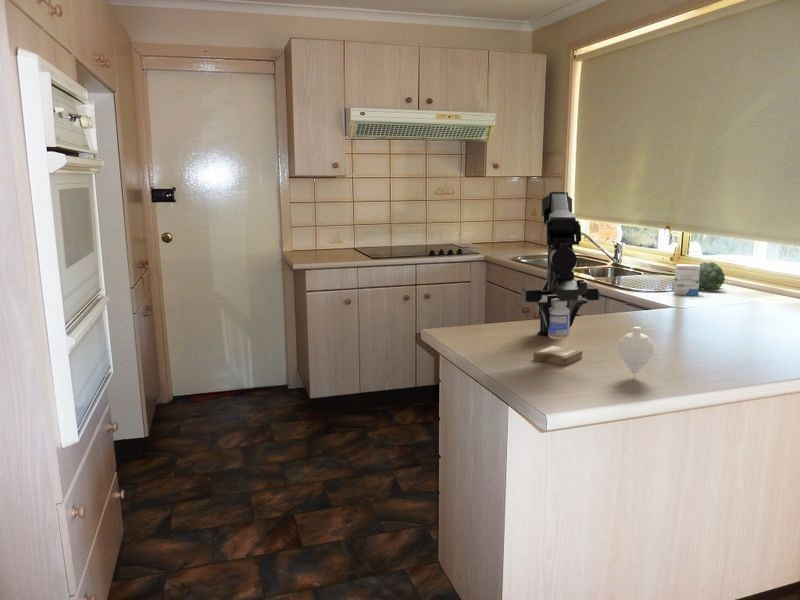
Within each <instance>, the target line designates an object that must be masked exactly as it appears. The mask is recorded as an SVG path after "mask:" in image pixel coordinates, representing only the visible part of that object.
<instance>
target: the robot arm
mask: <svg viewBox="0 0 800 600" xmlns="http://www.w3.org/2000/svg"><path fill="white" fill-rule="evenodd" d="M540 217H542V221H543V223H544V226H545V237H546V238H545V239H546V242H545V243H546V245H547V260H546V261H547V263H546V264H547V265H546V280H545V282H544V283H543V284H542V286H541V288H539V287H537V286H531V287H523V288H521V291H520V299H522V301H524V302H525V303H535V304H536V305H537V315H539V316H540V317H539V319H540V320H539V321H540V323H539V324H540V325H539V331H537V335H543V336H548V328H549V308H551V307H552V306H551V300H552V299H556V298H558V299H559V300H561V301H566V300H567V306H566V307H567V308H569V310H570V328H571V327H572V326H573V323H574V321H575V319H576V317H577V314H578V312H579V309H580V308H581V307H582V306H583V305H585V304H587V303H588V301H599V300H600V299H601V298H600V297H601V296H600V295H601V292H600V290H599V289H598V288H597V287H595V286H593V285H588V281H587V280H586V279H577V280H575V272H574V271H573V269H574V268H575V267H576V265H577V263H578V259H577V255H576V253H575V252H574V247H573V246H579V245H580V242H581V241H582V230H581V228H582V226H581V224H580V222H579V220H577V219H576V218H577V217H576V215H575V213H573V198H572V197H571V196H569V191H565V190H551V191H549V192H548V195H547V196H544V197H543V198H542V199H541V204H540ZM548 337H549V336H548Z"/></svg>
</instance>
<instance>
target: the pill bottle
mask: <svg viewBox="0 0 800 600" xmlns="http://www.w3.org/2000/svg"><path fill="white" fill-rule="evenodd" d="M551 306H552V307H551V308H549V328H548V338H549V339H553V340H565V339H569V338H570V336H571V327H570V310H569V308H567V307H566V306H567V300H566V301H561V300H559V299H558V298H556V299H552V300H551Z"/></svg>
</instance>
